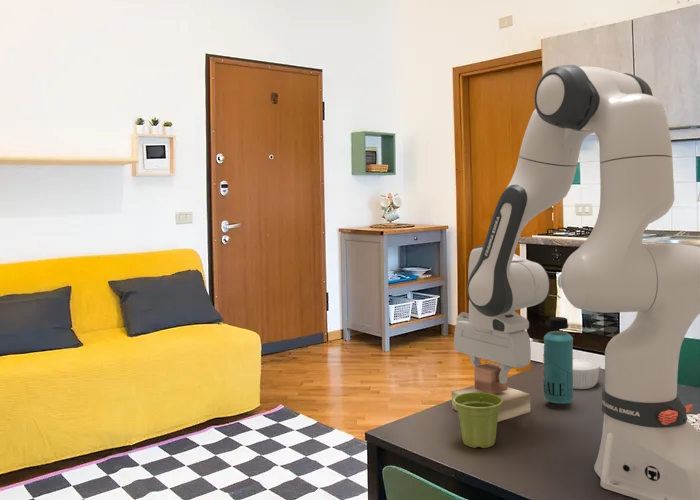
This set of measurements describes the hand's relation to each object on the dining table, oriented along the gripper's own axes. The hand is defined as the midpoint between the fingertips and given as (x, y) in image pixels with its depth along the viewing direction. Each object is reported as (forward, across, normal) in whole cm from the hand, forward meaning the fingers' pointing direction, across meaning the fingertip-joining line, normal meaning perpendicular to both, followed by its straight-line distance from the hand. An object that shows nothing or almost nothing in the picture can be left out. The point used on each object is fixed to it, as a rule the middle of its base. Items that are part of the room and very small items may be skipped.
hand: (490, 379), depth 143 cm
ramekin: (+7, -1, +30) cm, 31 cm away
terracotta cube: (+2, 0, 0) cm, 2 cm away
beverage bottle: (+7, +7, +14) cm, 17 cm away
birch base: (+7, 0, 0) cm, 7 cm away
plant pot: (+7, +12, -15) cm, 20 cm away
